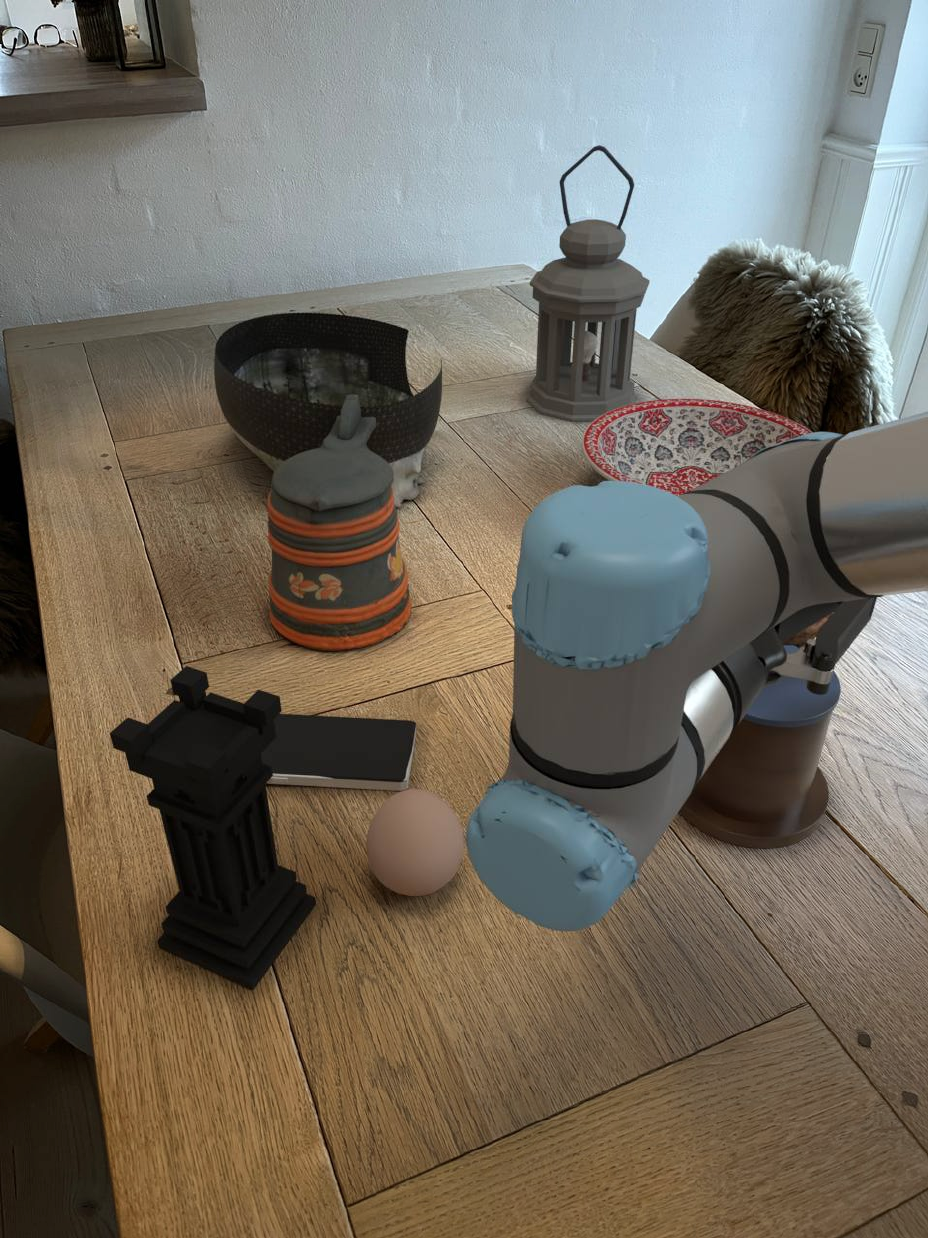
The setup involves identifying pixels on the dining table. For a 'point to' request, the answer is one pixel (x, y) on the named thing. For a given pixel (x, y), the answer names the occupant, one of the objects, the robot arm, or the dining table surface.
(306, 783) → the smartphone
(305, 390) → the basket
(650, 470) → the ceramic bowl
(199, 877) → the chess piece
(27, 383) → the dining table surface
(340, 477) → the tankard
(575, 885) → the robot arm
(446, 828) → the egg
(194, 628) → the dining table surface
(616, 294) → the lantern
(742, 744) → the pedestal
